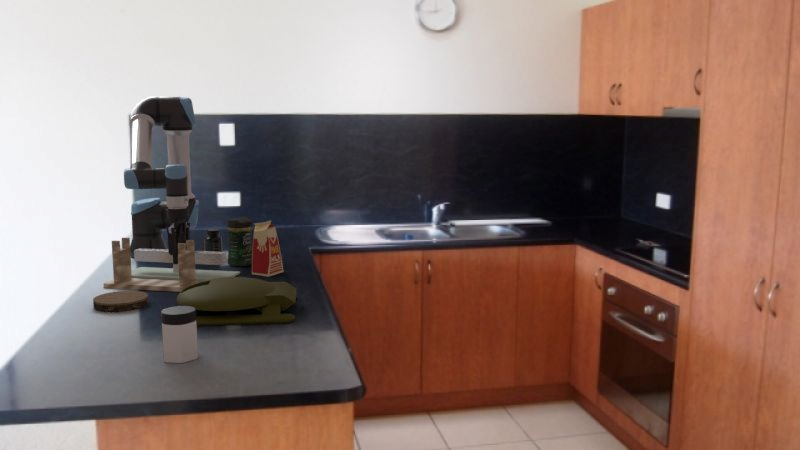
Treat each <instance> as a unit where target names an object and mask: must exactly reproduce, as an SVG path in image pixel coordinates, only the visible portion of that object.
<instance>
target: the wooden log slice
mask: <svg viewBox="0 0 800 450" xmlns="http://www.w3.org/2000/svg"><path fill="white" fill-rule="evenodd" d="M92 302H93V305H92V306H93V310H95V311H97V312H100V313H101V312H102V313H108V312H110V313H112V312H115V313H124V312H133V311H137V310H140V309H143V308H145V307H147V306H148V305H149V303H150V302H149V294H148V293H147V292H145V291H140V290H139V291H138V290H122V291H121V290H120V291H119V290H118V291H111V292H106V293H102V294H99V295H97V296H95V297H93V298H92Z"/></svg>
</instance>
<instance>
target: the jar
mask: <svg viewBox="0 0 800 450" xmlns="http://www.w3.org/2000/svg"><path fill="white" fill-rule="evenodd" d="M196 317H197V310H196V309H195V308H194V307H191V306H180V305H176V306H170V307H167V308H163V309H162V310H161V311H160V320H161V321H160V322H161V334H162V355H163V362H164V363H167V364H168V363H171V364H172V363H173V364H185V363H188V362H191V361H195V360H198V359H199V350H198V346H199V345H198V329H197V328H198V326H197V323H196Z"/></svg>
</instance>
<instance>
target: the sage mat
mask: <svg viewBox="0 0 800 450" xmlns="http://www.w3.org/2000/svg"><path fill="white" fill-rule="evenodd" d="M195 271H196V281H198V282H202V281H205V280H210V279H215V278H224V277H238V276H239V275H240V274H241V271H237V270H235V271H233V270H215V269H214V270H213V269H209V270H208V269H196V268H195ZM131 274H132V278H138V279H158V280H178V281H179V273H173V267H171V268H169V267H153V266H152V267H151V266H150V267H149V266H140V267H135V268H134V269H131Z"/></svg>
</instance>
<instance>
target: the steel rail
mask: <svg viewBox="0 0 800 450" xmlns="http://www.w3.org/2000/svg"><path fill="white" fill-rule="evenodd" d="M186 251H187V250H186ZM133 260H134V261H133V262H145V263H146V262H147V263H148V262H149V263H164V264H165V263H167V264H168V263H169V264H171V263H172V264H173V255H170V254H169V249H168V248H167V249H144V248H139V249H136V250H134V258H133ZM225 264H227V251H222V252H214V251H205V250H195V265H207V266H208V265H212V266H223V265H225Z"/></svg>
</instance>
